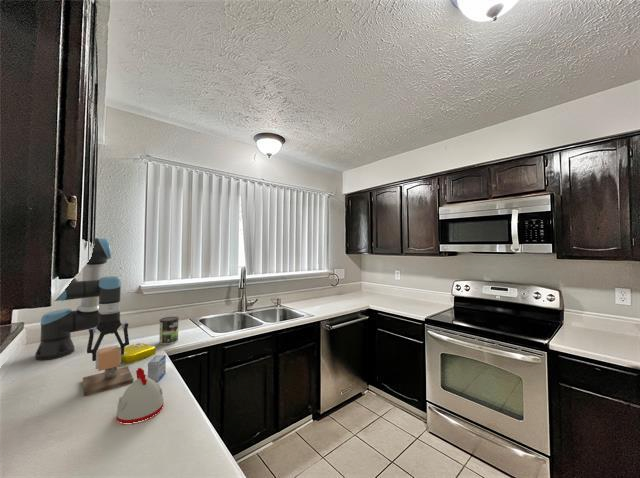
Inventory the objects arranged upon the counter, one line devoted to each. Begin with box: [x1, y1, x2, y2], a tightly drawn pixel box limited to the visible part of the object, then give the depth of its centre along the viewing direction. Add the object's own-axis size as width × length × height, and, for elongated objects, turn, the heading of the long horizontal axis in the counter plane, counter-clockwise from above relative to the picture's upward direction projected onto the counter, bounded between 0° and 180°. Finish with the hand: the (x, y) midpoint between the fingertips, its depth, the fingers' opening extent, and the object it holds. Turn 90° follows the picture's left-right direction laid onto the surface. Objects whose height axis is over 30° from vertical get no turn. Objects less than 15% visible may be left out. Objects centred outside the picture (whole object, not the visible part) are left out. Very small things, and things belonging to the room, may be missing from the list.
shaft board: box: [82, 366, 134, 397], centre depth 116 cm, size 16×16×6 cm
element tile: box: [120, 342, 156, 365], centre depth 143 cm, size 15×15×5 cm
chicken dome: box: [116, 367, 164, 423], centre depth 96 cm, size 14×14×15 cm
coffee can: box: [159, 316, 180, 345], centre depth 165 cm, size 10×10×14 cm
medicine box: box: [147, 354, 167, 383], centre depth 120 cm, size 8×4×9 cm, turn 9°
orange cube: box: [97, 344, 120, 372], centre depth 117 cm, size 7×7×7 cm
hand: (108, 365), depth 116 cm, fingers closed on orange cube, 7 cm apart
